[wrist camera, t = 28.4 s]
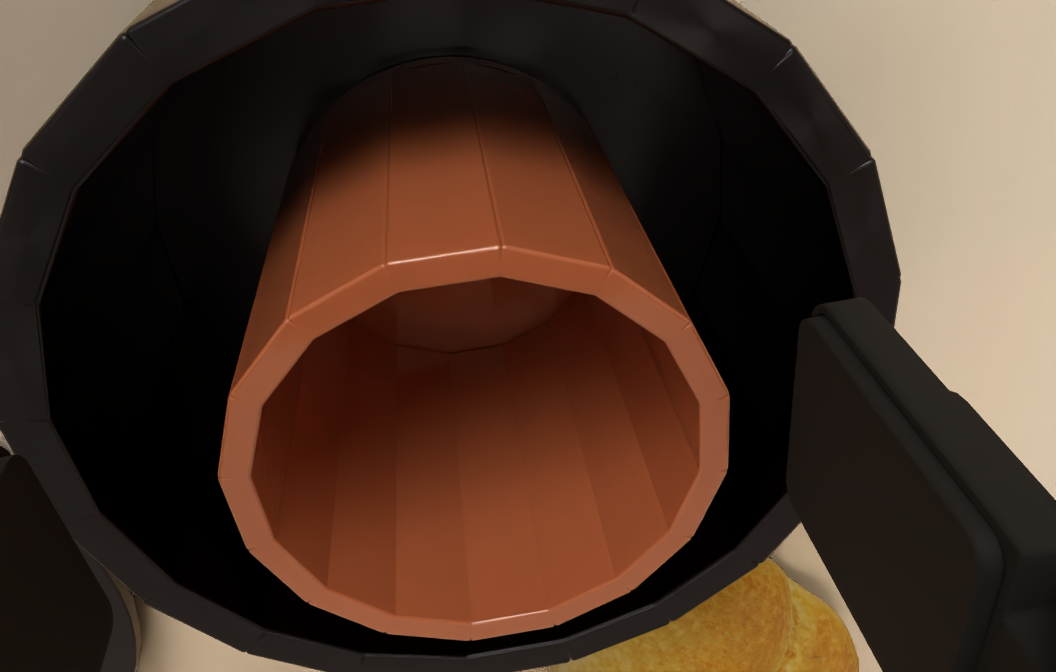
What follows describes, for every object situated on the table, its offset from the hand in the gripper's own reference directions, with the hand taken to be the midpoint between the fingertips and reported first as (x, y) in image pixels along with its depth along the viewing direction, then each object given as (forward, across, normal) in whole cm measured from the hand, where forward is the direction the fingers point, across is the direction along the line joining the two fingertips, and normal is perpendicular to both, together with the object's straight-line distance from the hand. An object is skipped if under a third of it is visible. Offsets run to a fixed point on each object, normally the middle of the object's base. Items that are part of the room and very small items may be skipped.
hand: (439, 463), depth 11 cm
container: (+8, -1, +1) cm, 8 cm away
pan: (+8, -1, +1) cm, 8 cm away
